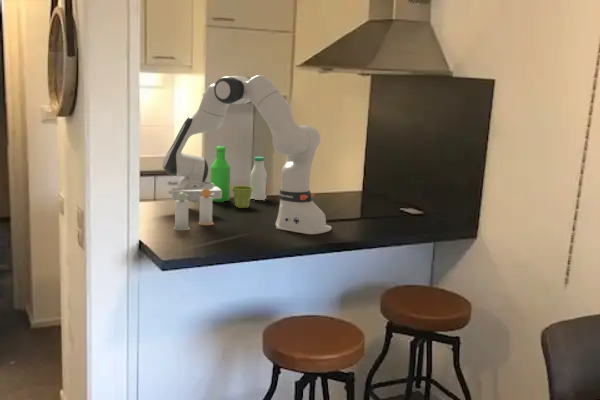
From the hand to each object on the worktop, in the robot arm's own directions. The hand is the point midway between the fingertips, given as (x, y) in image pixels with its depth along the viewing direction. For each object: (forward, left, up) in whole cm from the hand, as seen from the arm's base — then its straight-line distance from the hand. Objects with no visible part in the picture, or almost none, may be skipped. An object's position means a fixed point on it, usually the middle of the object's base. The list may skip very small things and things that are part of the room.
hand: (200, 197), depth 252 cm
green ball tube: (-8, +16, -8) cm, 20 cm away
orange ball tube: (-8, +4, -8) cm, 12 cm away
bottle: (+24, -34, -9) cm, 43 cm away
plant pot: (+8, -32, -9) cm, 34 cm away
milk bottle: (+15, -50, -9) cm, 53 cm away
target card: (-8, +10, -9) cm, 16 cm away
